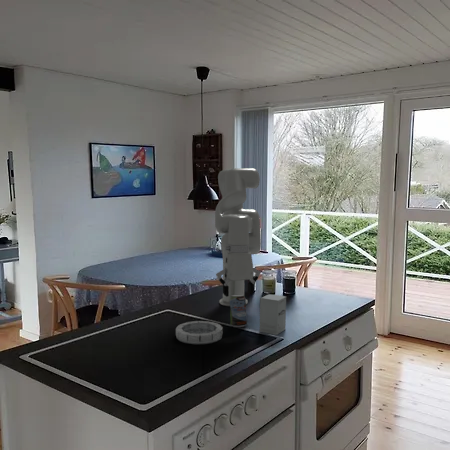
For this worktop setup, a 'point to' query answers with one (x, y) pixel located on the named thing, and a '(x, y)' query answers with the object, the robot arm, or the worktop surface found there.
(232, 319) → the beverage can
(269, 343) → the worktop surface
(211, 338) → the grey segmented ring
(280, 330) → the supplement box
